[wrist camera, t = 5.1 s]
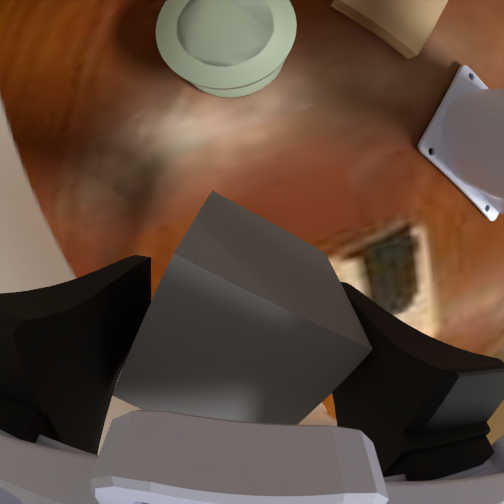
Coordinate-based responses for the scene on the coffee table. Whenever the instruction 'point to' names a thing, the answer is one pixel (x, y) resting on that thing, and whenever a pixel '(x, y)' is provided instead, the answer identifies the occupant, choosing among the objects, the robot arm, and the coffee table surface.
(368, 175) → the coffee table surface
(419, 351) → the robot arm
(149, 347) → the block
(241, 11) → the bobbin
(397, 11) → the notched board
